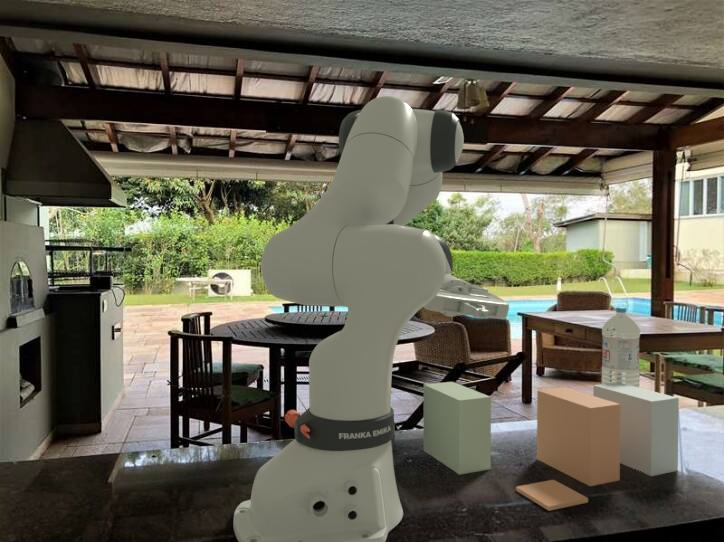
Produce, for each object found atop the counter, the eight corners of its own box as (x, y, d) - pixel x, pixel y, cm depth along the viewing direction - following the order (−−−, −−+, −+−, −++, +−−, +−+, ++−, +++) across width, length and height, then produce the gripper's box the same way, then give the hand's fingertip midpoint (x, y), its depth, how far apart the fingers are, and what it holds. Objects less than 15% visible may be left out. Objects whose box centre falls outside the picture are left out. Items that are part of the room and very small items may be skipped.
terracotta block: (590, 486, 82) (590, 408, 82) (536, 459, 93) (537, 390, 93) (619, 480, 84) (620, 404, 84) (564, 454, 95) (564, 387, 95)
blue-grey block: (651, 476, 86) (651, 401, 86) (593, 451, 97) (593, 385, 97) (677, 470, 88) (678, 397, 88) (617, 447, 99) (618, 382, 99)
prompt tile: (548, 510, 74) (548, 506, 74) (516, 490, 80) (516, 486, 80) (588, 502, 76) (588, 498, 76) (553, 483, 83) (553, 479, 83)
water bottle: (635, 440, 103) (636, 309, 102) (597, 433, 107) (598, 307, 106) (642, 431, 108) (643, 307, 108) (605, 425, 112) (606, 305, 112)
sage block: (459, 474, 87) (459, 400, 86) (423, 450, 98) (423, 384, 97) (490, 469, 89) (490, 396, 89) (452, 446, 100) (452, 381, 100)
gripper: (413, 277, 120) (441, 294, 107) (491, 288, 127) (526, 305, 114) (407, 304, 121) (434, 324, 108) (484, 313, 128) (518, 333, 115)
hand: (482, 314), depth 111 cm, fingers closed
